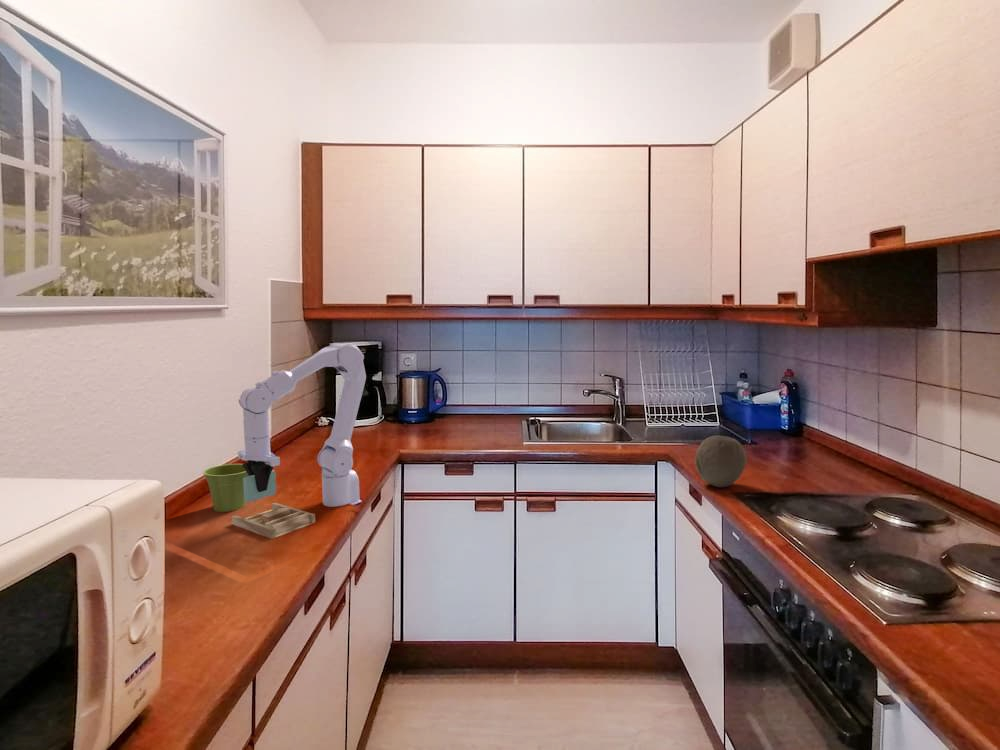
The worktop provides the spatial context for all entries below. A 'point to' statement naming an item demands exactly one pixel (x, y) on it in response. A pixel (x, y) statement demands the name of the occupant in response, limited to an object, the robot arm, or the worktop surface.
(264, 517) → the offcut upper
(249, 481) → the teal rectangular plate
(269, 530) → the rack
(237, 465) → the plant pot
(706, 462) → the cantaloupe
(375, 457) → the worktop surface
